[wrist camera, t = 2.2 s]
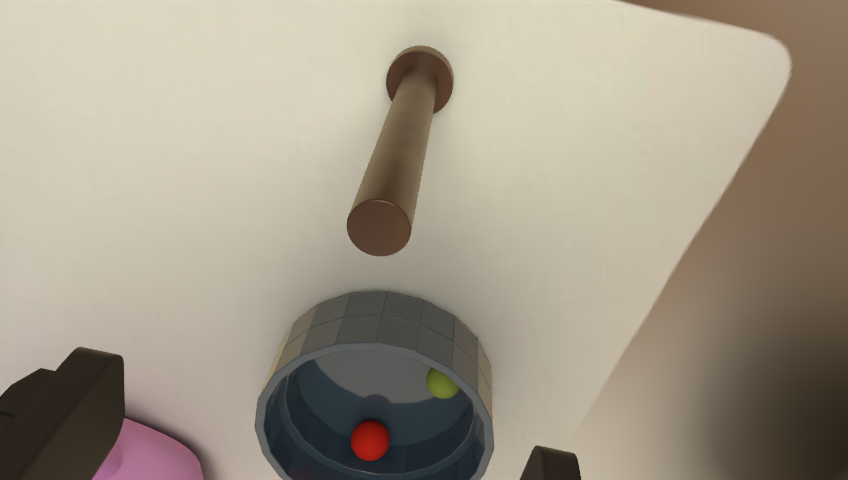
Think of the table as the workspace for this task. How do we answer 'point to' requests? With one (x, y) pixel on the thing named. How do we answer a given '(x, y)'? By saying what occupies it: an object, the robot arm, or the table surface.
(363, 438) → the cherry tomato
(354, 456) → the bowl
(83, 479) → the robot arm
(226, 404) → the table surface
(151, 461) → the teapot
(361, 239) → the brown wooden pestle
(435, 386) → the grape
